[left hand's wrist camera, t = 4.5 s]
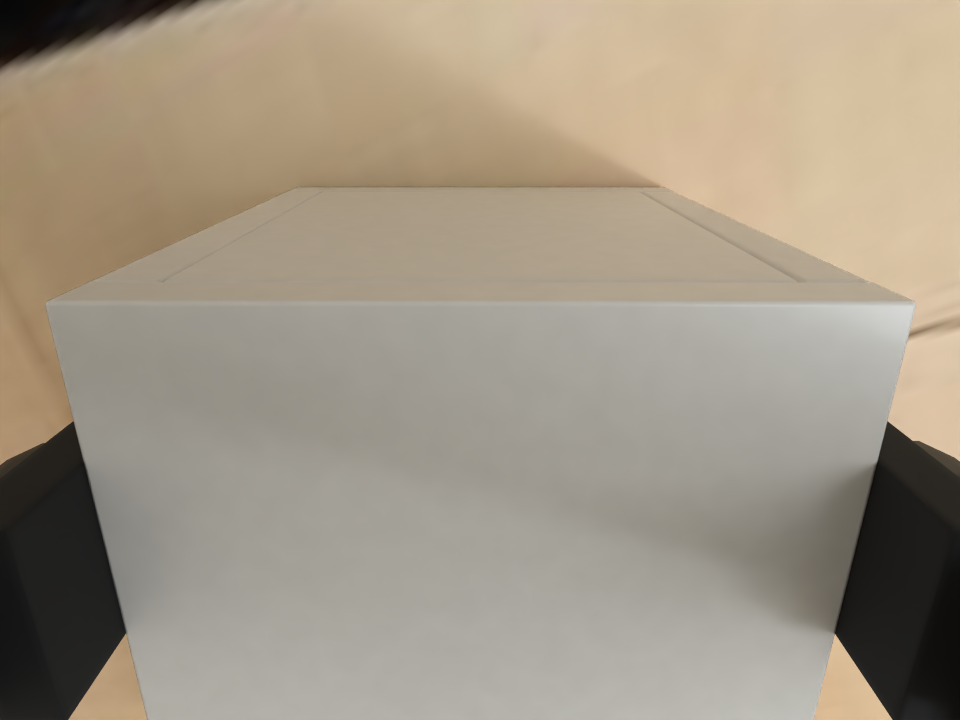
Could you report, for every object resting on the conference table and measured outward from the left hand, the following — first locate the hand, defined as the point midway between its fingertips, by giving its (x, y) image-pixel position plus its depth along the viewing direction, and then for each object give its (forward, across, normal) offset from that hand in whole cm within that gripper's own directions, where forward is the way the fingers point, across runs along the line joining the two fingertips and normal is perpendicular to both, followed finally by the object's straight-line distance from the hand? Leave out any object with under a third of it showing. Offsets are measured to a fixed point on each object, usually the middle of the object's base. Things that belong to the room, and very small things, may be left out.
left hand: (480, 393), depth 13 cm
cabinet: (+6, 0, -6) cm, 8 cm away
